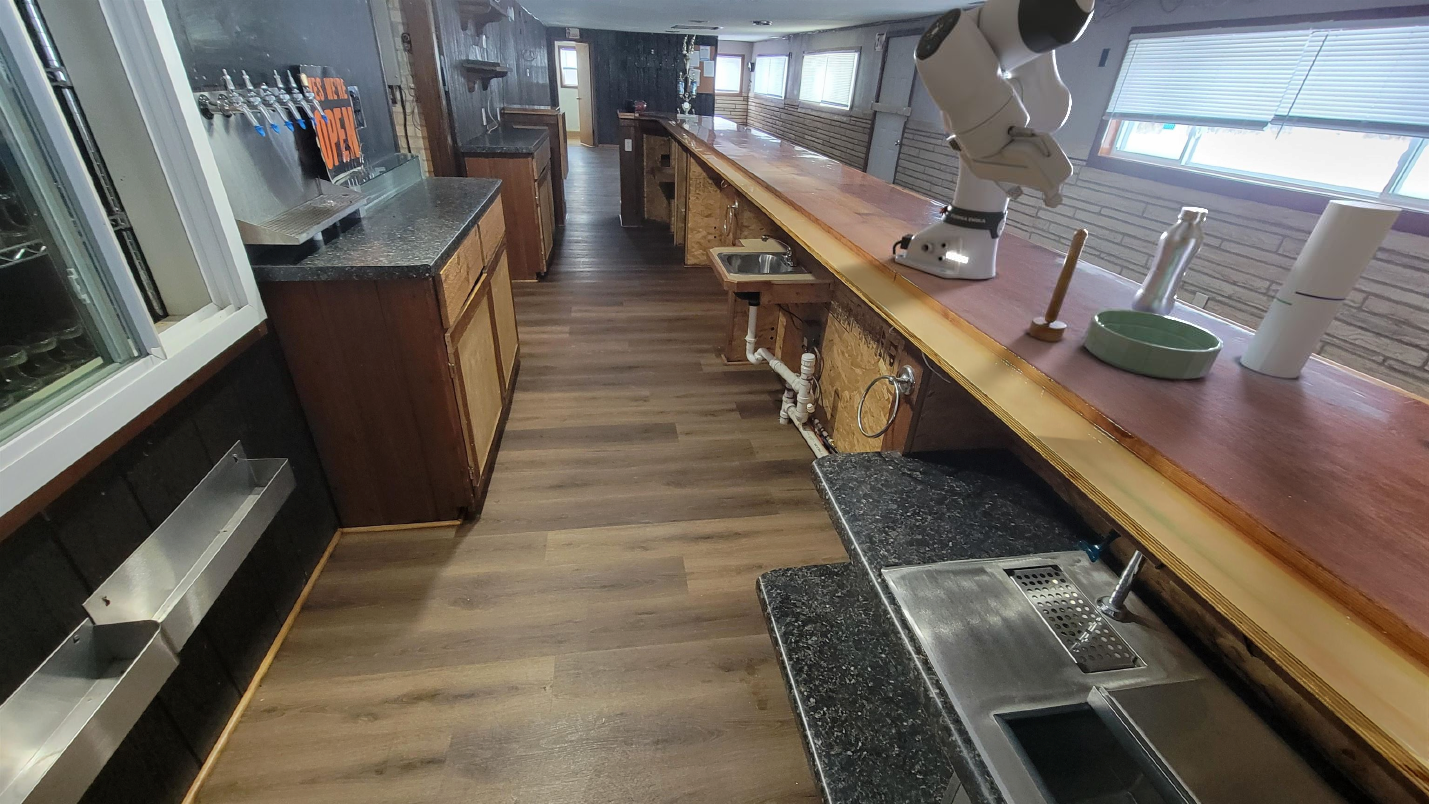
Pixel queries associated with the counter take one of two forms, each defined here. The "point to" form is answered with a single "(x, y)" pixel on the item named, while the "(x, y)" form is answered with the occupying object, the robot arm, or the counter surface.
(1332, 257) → the cylindrical container
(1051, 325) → the brown stick
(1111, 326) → the bowl
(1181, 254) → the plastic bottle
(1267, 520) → the counter surface
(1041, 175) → the robot arm
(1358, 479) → the counter surface
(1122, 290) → the counter surface
